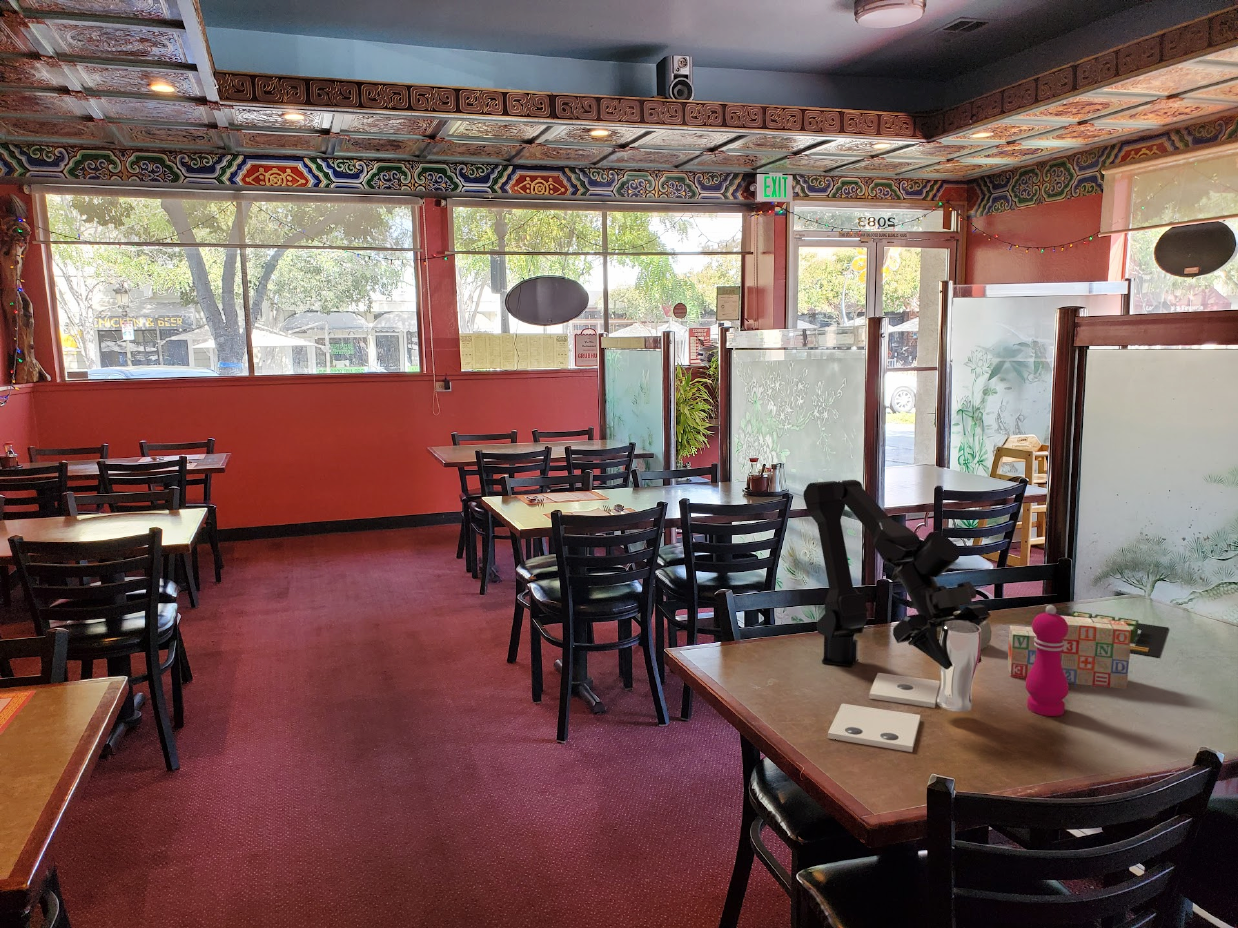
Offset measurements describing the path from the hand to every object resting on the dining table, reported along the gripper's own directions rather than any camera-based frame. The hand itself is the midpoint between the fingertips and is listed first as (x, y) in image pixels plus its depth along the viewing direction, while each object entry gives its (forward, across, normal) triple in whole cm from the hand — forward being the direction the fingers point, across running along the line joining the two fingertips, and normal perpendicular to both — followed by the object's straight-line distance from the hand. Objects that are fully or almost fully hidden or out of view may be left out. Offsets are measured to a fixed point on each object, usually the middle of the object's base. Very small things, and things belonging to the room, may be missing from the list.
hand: (964, 665), depth 159 cm
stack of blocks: (+2, +36, +14) cm, 38 cm away
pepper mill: (+9, +18, +6) cm, 21 cm away
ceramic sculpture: (-15, +33, +32) cm, 48 cm away
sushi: (-9, +68, +26) cm, 73 cm away
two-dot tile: (+5, -16, +10) cm, 20 cm away
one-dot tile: (-3, 0, +18) cm, 19 cm away
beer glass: (+4, 0, +7) cm, 8 cm away
